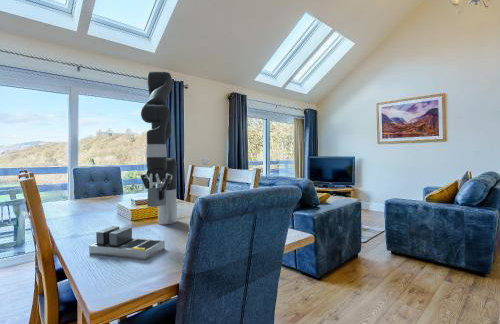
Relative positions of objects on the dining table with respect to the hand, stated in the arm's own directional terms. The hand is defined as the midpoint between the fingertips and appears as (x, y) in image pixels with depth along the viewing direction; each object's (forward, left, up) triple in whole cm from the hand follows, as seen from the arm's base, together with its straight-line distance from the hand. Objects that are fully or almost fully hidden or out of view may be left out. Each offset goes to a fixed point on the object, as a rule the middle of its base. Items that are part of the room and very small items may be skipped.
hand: (157, 199), depth 108 cm
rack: (+11, -5, -17) cm, 21 cm away
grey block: (0, 0, -2) cm, 2 cm away
